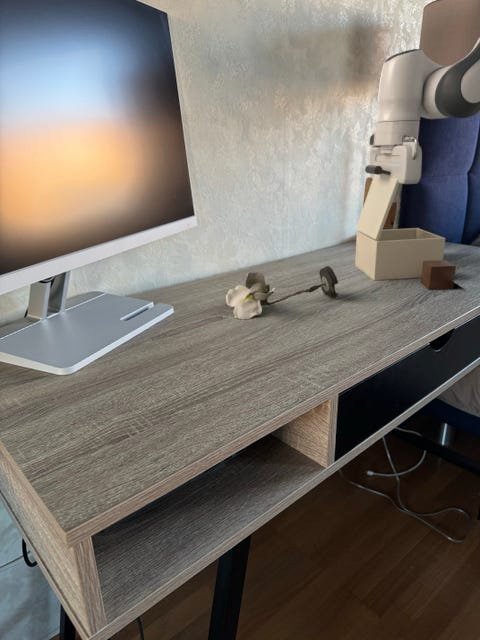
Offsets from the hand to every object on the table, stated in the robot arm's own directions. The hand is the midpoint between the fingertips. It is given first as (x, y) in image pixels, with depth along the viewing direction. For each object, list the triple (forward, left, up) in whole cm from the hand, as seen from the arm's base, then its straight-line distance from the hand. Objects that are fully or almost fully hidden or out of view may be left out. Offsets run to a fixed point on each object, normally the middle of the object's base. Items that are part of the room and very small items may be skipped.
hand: (390, 202), depth 101 cm
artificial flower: (+25, +24, -17) cm, 39 cm away
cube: (-8, +13, -16) cm, 22 cm away
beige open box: (-3, 0, -16) cm, 17 cm away
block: (-5, -27, -17) cm, 32 cm away
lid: (+2, 0, +1) cm, 3 cm away
